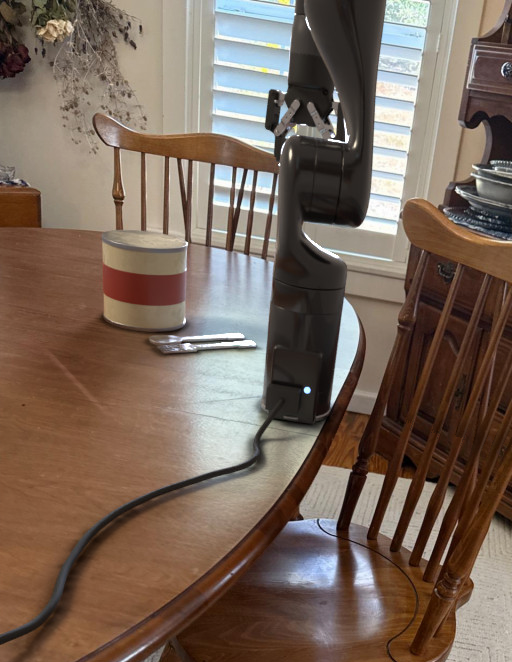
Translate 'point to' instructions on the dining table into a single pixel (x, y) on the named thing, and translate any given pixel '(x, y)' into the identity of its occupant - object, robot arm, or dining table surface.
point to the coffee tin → (144, 280)
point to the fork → (203, 347)
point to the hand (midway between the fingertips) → (303, 166)
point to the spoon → (191, 338)
